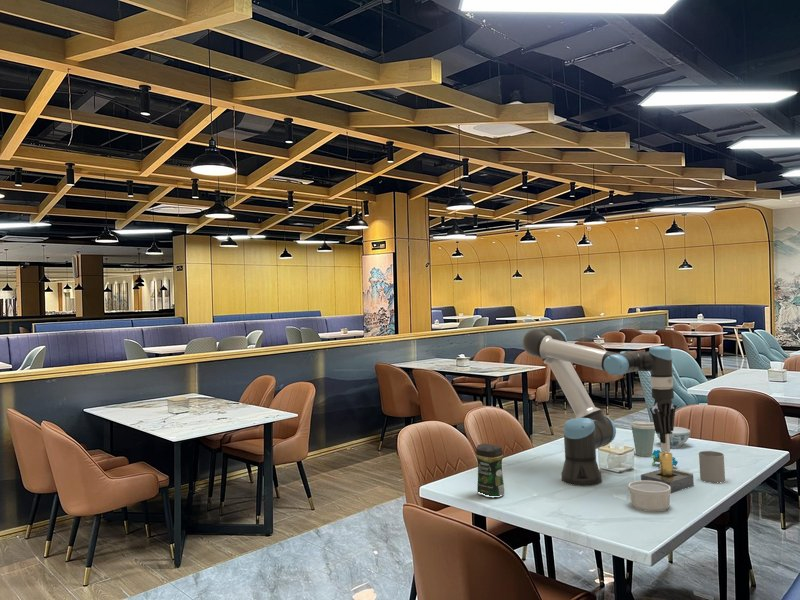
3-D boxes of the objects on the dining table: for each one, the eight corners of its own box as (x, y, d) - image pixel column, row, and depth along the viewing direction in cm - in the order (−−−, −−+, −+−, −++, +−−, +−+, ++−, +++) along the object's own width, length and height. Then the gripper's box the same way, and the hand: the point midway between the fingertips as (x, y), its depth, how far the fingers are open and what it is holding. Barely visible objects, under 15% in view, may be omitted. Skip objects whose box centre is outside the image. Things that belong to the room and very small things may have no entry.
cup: (711, 484, 215) (710, 457, 216) (695, 478, 223) (693, 452, 224) (730, 481, 218) (728, 454, 218) (713, 475, 226) (711, 450, 226)
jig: (670, 493, 207) (669, 480, 207) (641, 485, 217) (640, 473, 218) (693, 485, 214) (693, 473, 214) (664, 478, 225) (663, 466, 225)
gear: (683, 464, 237) (667, 449, 236) (677, 476, 235) (661, 461, 234) (662, 462, 247) (647, 447, 246) (656, 473, 245) (641, 458, 244)
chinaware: (665, 441, 285) (664, 425, 285) (696, 445, 274) (695, 429, 274) (650, 446, 276) (649, 430, 276) (682, 451, 264) (681, 434, 264)
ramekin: (622, 507, 195) (621, 486, 195) (639, 497, 204) (638, 477, 205) (662, 516, 186) (661, 494, 186) (678, 505, 195) (677, 484, 195)
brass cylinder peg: (669, 488, 213) (667, 455, 213) (658, 485, 217) (656, 453, 217) (676, 486, 215) (674, 453, 215) (665, 483, 219) (664, 451, 219)
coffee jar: (473, 495, 214) (471, 444, 215) (487, 490, 220) (485, 440, 220) (494, 500, 207) (492, 448, 208) (508, 495, 213) (505, 444, 213)
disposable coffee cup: (628, 452, 266) (626, 419, 267) (652, 451, 266) (650, 419, 266) (636, 458, 256) (635, 424, 256) (661, 457, 255) (660, 423, 256)
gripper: (660, 390, 210) (663, 455, 210) (682, 386, 217) (685, 450, 216) (642, 388, 217) (645, 452, 216) (664, 385, 223) (667, 446, 223)
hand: (665, 451), depth 216 cm, fingers closed
